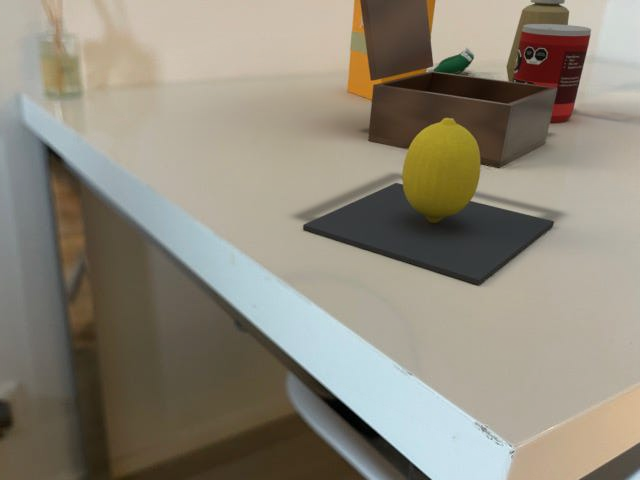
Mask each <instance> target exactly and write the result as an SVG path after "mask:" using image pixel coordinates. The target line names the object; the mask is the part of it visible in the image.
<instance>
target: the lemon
mask: <svg viewBox="0 0 640 480" xmlns="http://www.w3.org/2000/svg"><path fill="white" fill-rule="evenodd" d="M480 177H481V164H480V152H479V147H478V144H477V142H476V140H475V138H474V137H473V135H472V134H471V133H470V132H469V131H468V130H467V129H465V128H464V127H462V126H461V125H459V124H456V122H455V121H454V119H452V118H444V119H443V120H442V121H441V122H439V123H435V124H433V125H430V126H428V127H426V128H425V129H424V130H422V131H421V132H420V133H419V134H418V135H417V136H416V137H415V138H414V140H413V141H412V143H411V145H410V147H409V149H407V152H406V155H405V158H404V162H403V166H402V184H403V189H404V193H405V196H406V198H407V200H408V202H409V203H410V204H411V205H412V207H413V208H414V209H415V210H417V211H418V212H420V213H422V214H424V215H425V216H426V218H427V219H428V220H429V222H431V223H438V222H439V221H440V220H442V219H443V218H444V217H447V216H451V215H454V214H456V213H458V212H459V211H461V210H462V209H463V208H464V207H465V206H466V205H467V204H468V203H469V202H470V201H472V199H473V198H474V196H475V194H476V192H477V189H478V185H479V182H480Z"/></svg>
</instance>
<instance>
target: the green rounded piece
mask: <svg viewBox="0 0 640 480" xmlns="http://www.w3.org/2000/svg"><path fill="white" fill-rule="evenodd" d="M474 59H475V55H474V53H473V52H472V50H471V49H470V48H469V47H468V46H466V47H465V48H464V49H463V50H462V51H461V52H460V53H458V54H455V55H451V56H449V57H446V58H444V59H443V60H441V61H440V62H439V63H438V65H437V66H435V67H434V69H433V70H432V71H433V72H441V73H449V74H457V75H463V74H464V72H465V70H466V69H467V68H468V67H470V65H471V64H472V63H473V61H474Z"/></svg>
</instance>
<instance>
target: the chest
mask: <svg viewBox="0 0 640 480" xmlns="http://www.w3.org/2000/svg"><path fill="white" fill-rule="evenodd" d="M433 71H434V70H429V71H426V72H425V73H421V74H416V75H412V76H408V77H404V78H400V79H396V80H391V81H387V82H383V83H379V84H375V85H373V94H372V100H371V105H370V106H371V108H370V118H369V126H368V138H367V141H368V142H373V143H378V144H382V145H386V146H387V145H388V146H392V147H398V148H404V149H407V150H408V149H409V147H410V145H411V143H412V141H413V140H414V138H415V137H416V136H417V135H418V134H419V133H420V132H421V131H422V130H424V129H425V128H426V127H428V126H430V125H433V124H435V123H439V122H441V121H442V120H443V119H444V118H452V119H454V121H455V122H456V124H459V125H461V126H462V127H464V128H465V129H467V130H468V131H469V132H470V133H471V134H472V135H473V137H474V138H475V140H476V142H477V144H478V147H479V152H480V165H484V166H489V167H492V168H493V167H494V168H498V169H500V168H502V167H503V166H505V165H507V164H509V163H511V162H513V161H515V160H516V159H518V158H520V157H522V156H524V155H526V154H528V153H529V152H532V151H534V150H536V149H537V148H539V147H541V146H543V145H545V144H546V143H547V138H548V134H549V130H550V129H549V128H550V125H551V122H550V120H551V116H552V111H553V107H554V102H555V97H556V93H557V88H556V87H549V86H541V85H533V84H526V83H518V82H510V81H508V80H501V79H496V78H495V79H494V78H487V77H478V76H473V75H465V74H464V75H463V74H461V75H457V74H449V73H441V72H433Z"/></svg>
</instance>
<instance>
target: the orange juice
mask: <svg viewBox="0 0 640 480" xmlns="http://www.w3.org/2000/svg"><path fill="white" fill-rule="evenodd" d="M435 7H436V0H427V9H428V19H429V28H430V38H431V39H432V31H433V30H432V29H433V23H434V16H435ZM350 36H351V37H350V48H349V50H350V51H349V52H350V53H349V65H348V78H347V90H346V91H347V92H348V93H350V94H353V95H356V96H359V97H362V98H365V99H367V100H370V101H372V94H373V85H375V84H379V83H383V82H387V81H391V80H396V79H400V78H404V77H408V76H412V75H416V74H421V73H425V72H427V71H428V70H427V69H428V68H425V69H421V70H417V71H412V72H408V73H404V74H400V75H395V76H391V77H387V78H382V79H378V80H373V81H371V79H370V71H369V64H368V56H367V49H366V41H365V34H364V26H363V18H362V11H361V3H360V0H354V2H353V14H352V28H351V35H350Z"/></svg>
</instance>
